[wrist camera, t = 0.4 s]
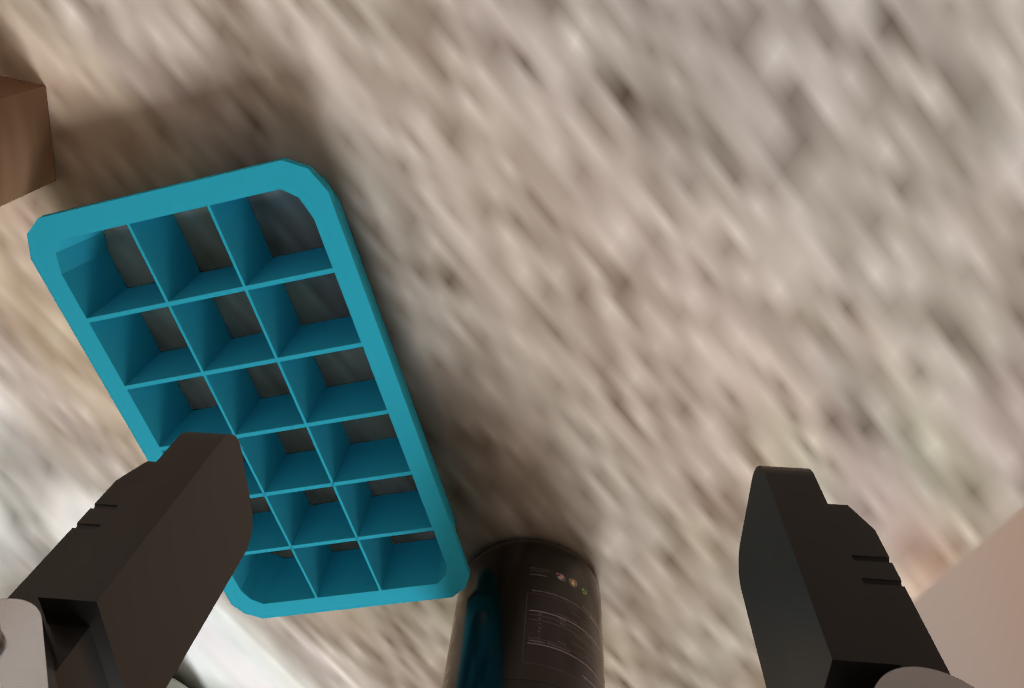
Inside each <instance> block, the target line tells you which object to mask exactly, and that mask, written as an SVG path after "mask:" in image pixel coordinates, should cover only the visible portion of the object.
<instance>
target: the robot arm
mask: <svg viewBox="0 0 1024 688" xmlns="http://www.w3.org/2000/svg"><path fill="white" fill-rule="evenodd" d="M252 526H253V513H252V506H251V501H250V495H249V490H248V484H247V478H246V473H245V467H244V462H243V456H242V451H241V446H240V443H239V440H238V439H237V437H236V436H235V435H233V434H220V433H203V432H184V433H182V434H180V435H179V436H178V437H177V439H176V440H175V441H174V442H173V443H172V444H171V445H170V447H169V448H168V449H167V450H166V451H165V452H164V453H163V455H162V456H161V457H160V458H159V459H158V460H157V461H156V462H153V461H147V462H145V463H144V464H142V465H141V466H139V467H137V468H136V469H134V470H132V471H131V472H129V473H128V474H126V475H124V476H123V477H121V478H119V479H118V480H116V481H115V482H114V483H113V485H112V486H111V487H110V488H109V489H108V490H107V491H106V492H105V493H104V494H103V495H102V496H101V498H100V499H99V500H98V501H97V502H96V503H95V507H94V509H92V508H90V509H89V511H88V512H87V513H86V514H85V515H84V516H83V517H82V518H81V519H80V520H79V521H78V523H77V527H76V528H72V529H71V530H70V531H69V532H68V533H67V534H66V536H65V537H64V538H63V539H62V540H61V541H60V542H59V543H58V544H57V545H56V546H55V547H54V549H53V550H52V551H51V552H50V553H49V554H48V555H47V556H46V557H45V558H44V559H43V560H42V562H41V563H40V564H39V565H38V566H37V567H36V568H35V569H34V570H33V571H32V572H31V574H30V575H29V576H28V577H27V578H26V579H25V580H24V581H23V582H22V583H21V584H20V585H19V587H18V588H17V589H16V590H15V591H14V592H13V593H12V594H11V595H10V596H9V597H8V598H6V599H0V688H166V687H167V686H168V684H169V682H170V681H171V679H172V677H173V676H174V674H175V672H176V670H177V669H178V667H179V665H180V664H181V662H182V660H183V658H184V657H185V655H186V653H187V652H188V650H189V648H190V646H191V645H192V643H193V641H194V640H195V638H196V636H197V634H198V633H199V631H200V629H201V628H202V626H203V624H204V622H205V621H206V619H207V617H208V616H209V614H210V612H211V610H212V609H213V607H214V605H215V604H216V602H217V600H218V598H219V597H220V595H221V593H222V592H223V590H224V588H225V587H226V585H227V583H228V581H229V580H230V578H231V576H232V575H233V573H234V571H235V569H236V568H237V566H238V564H239V563H240V561H241V559H242V557H243V556H244V554H245V552H246V550H247V548H248V545H249V542H250V538H251V533H252ZM739 578H740V585H741V590H742V594H743V598H744V602H745V606H746V610H747V614H748V617H749V621H750V625H751V629H752V633H753V637H754V641H755V645H756V649H757V653H758V657H759V660H760V664H761V668H762V672H763V676H764V680H765V684H766V688H974V687H973V686H971V685H969V684H968V683H966V682H964V681H962V680H960V679H958V678H956V677H954V676H951V675H950V673H949V671H948V669H947V667H946V665H945V663H944V661H943V659H942V658H941V656H940V654H939V652H938V650H937V648H936V646H935V644H934V642H933V640H932V638H931V636H930V634H929V633H928V631H927V629H926V627H925V625H924V623H923V621H922V619H921V617H920V615H919V613H918V612H917V610H916V608H915V606H914V604H913V602H912V600H911V598H910V596H909V594H908V592H907V590H906V589H905V587H903V586H901V579H900V577H899V575H898V573H897V571H896V569H895V568H894V566H893V564H892V563H889V556H888V554H887V552H886V550H885V548H884V546H883V545H882V543H881V541H880V539H879V537H878V535H877V533H876V531H875V530H874V529H873V528H872V527H871V526H870V525H869V524H868V523H867V522H866V521H865V520H863V519H862V518H861V517H860V516H859V515H858V514H857V513H856V512H855V511H853V510H852V509H851V508H850V507H849V506H848V505H836V504H827V502H826V499H825V497H824V495H823V493H822V491H821V489H820V486H819V484H818V482H817V480H816V478H815V476H814V474H813V472H812V471H811V470H810V469H804V468H787V467H770V466H758V467H757V468H756V469H755V471H754V474H753V478H752V483H751V488H750V493H749V499H748V504H747V509H746V515H745V520H744V525H743V531H742V536H741V542H740V548H739Z"/></svg>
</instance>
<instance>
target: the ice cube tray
mask: <svg viewBox="0 0 1024 688" xmlns="http://www.w3.org/2000/svg"><path fill="white" fill-rule="evenodd" d="M279 189H281V190H283V191H285V192H288V193H290V194H292V195H294V196H296V197H298V198H299V199H300V200H301V201H302V203H303V204H304V206H305V207H306V208H307V210H308V211H309V213H310V214H311V216H312V217H313V218H314V221H315V223H316V226H317V228H318V231H319V234H320V236H321V239H322V241H323V244H324V247H320V248H316V249H311V250H306V251H301V252H297V253H292V254H287V255H282V256H278V257H272V255H271V253H270V250H269V248H268V245H267V243H266V241H265V238H264V236H263V234H262V231H261V229H260V226H259V224H258V222H257V219H256V217H255V215H254V212H253V210H252V207H251V205H250V203H249V200H248V198H247V197H249V196H253V195H257V194H262V193H266V192H270V191H275V190H279ZM205 206H207V208H208V210H209V212H210V214H211V217H212V219H213V221H214V223H215V225H216V228H217V230H218V232H219V234H220V237H221V239H222V241H223V243H224V246H225V248H226V250H227V252H228V254H229V257H230V259H231V261H232V263H233V266H230V267H226V268H221V269H216V270H211V271H207V272H202V273H201V272H200V269H199V267H198V265H197V263H196V261H195V259H194V257H193V255H192V252H191V250H190V248H189V246H188V244H187V242H186V240H185V238H184V236H183V233H182V231H181V229H180V227H179V225H178V223H177V221H176V219H175V216H174V214H175V213H179V212H183V211H188V210H192V209H196V208H201V207H205ZM122 225H127V226H128V228H129V230H130V232H131V234H132V236H133V238H134V240H135V242H136V244H137V246H138V248H139V250H140V252H141V254H142V256H143V258H144V260H145V262H146V264H147V266H148V268H149V270H150V272H151V274H152V276H153V278H154V280H155V283H150V284H145V285H140V286H136V287H131V288H127V286H126V284H125V282H124V280H123V279H122V277H121V275H120V273H119V271H118V269H117V267H116V265H115V263H114V261H113V260H112V258H111V256H110V254H109V252H108V248H107V244H106V240H105V236H104V230H105V229H109V228H114V227H118V226H122ZM27 238H28V244H29V250H30V256H31V260H32V262H33V263H34V265H35V267H36V269H37V270H38V272H39V274H40V276H41V277H42V279H43V281H44V282H45V284H46V286H47V288H48V289H49V291H50V293H51V294H52V296H53V298H54V300H55V301H56V303H57V305H58V306H59V308H60V310H61V312H62V313H63V315H64V317H65V319H66V320H67V322H68V324H69V325H70V327H71V329H72V331H73V332H74V334H75V336H76V337H77V339H78V341H79V343H80V344H81V346H82V348H83V350H84V351H85V353H86V355H87V356H88V358H89V360H90V362H91V363H92V365H93V367H94V368H95V370H96V372H97V374H98V375H99V377H100V379H101V380H102V382H103V384H104V386H105V387H106V389H107V391H108V393H109V394H110V396H111V398H112V399H113V401H114V403H115V405H116V406H117V408H118V410H119V411H120V413H121V415H122V417H123V418H124V420H125V422H126V424H127V425H128V427H129V429H130V430H131V432H132V434H133V436H134V437H135V439H136V441H137V442H138V444H139V446H140V448H141V449H142V451H143V453H144V454H145V456H146V458H147V460H148V461H153V462H156V461H157V460H158V459H159V458H160V457H161V456H162V455H163V453H164V452H165V451H166V450H167V449H168V448H169V447H170V445H171V444H172V443H173V442H174V441H175V440H176V439H177V437H178V436H179V435H180V434H182V433H184V432H203V433H220V434H233V435H235V436H236V437H237V439H238V440H239V443H240V446H241V451H242V454H243V456H244V458H245V460H246V461H243V462H244V467H245V473H246V478H247V484H248V490H249V495H250V498H256V497H263V496H264V497H265V499H266V501H267V503H268V505H269V507H270V509H271V511H266V512H259V513H253V526H252V533H251V538H250V542H249V545H248V548H247V550H246V552H245V554H244V556H243V557H242V559H241V561H240V563H239V564H238V566H237V568H236V569H235V571H234V573H233V575H232V576H231V578H230V580H229V581H228V583H227V585H226V587H225V588H224V592H225V594H226V596H227V597H228V599H229V601H230V602H231V604H232V605H233V606H235V607H236V608H238V609H239V610H241V611H242V612H243V613H245V614H249V615H252V616H256V617H260V618H271V617H280V616H289V615H298V614H306V613H315V612H324V611H333V610H342V609H351V608H360V607H369V606H378V605H386V604H395V603H404V602H413V601H422V600H431V599H440V598H449V597H453V596H454V595H456V594H457V593H459V592H460V591H462V590H463V589H465V588H466V585H467V582H468V579H469V576H470V568H469V566H468V563H467V560H466V557H465V555H464V552H463V549H462V546H461V544H460V541H459V538H458V535H457V533H456V530H455V518H454V515H453V512H452V510H451V507H450V504H449V501H448V499H447V496H446V493H445V490H444V488H443V485H442V482H441V479H440V476H439V474H438V471H437V468H436V465H435V463H434V460H433V457H432V454H431V452H430V449H429V446H428V443H427V441H426V438H425V435H424V432H423V430H422V427H421V424H420V421H419V419H418V416H417V413H416V410H415V407H414V405H413V402H412V399H411V396H410V394H409V391H408V388H407V385H406V383H405V380H404V377H403V374H402V372H401V369H400V366H399V363H398V361H397V358H396V355H395V352H394V350H393V347H392V344H391V341H390V338H389V336H388V333H387V330H386V327H385V325H384V322H383V319H382V316H381V314H380V311H379V308H378V305H377V303H376V300H375V297H374V294H373V292H372V289H371V286H370V283H369V281H368V278H367V275H366V272H365V269H364V267H363V264H362V261H361V258H360V256H359V253H358V250H357V247H356V245H355V242H354V239H353V236H352V234H351V231H350V228H349V225H348V223H347V220H346V217H345V214H344V212H343V209H342V206H341V203H340V201H339V198H338V197H337V195H336V194H335V192H334V191H333V189H332V188H331V186H330V185H329V184H328V182H327V181H326V179H325V178H324V177H323V176H321V175H319V174H317V172H316V171H315V170H314V169H313V168H312V167H311V166H309V165H306V164H303V163H300V162H297V161H294V160H290V159H287V158H282V159H278V160H273V161H269V162H265V163H261V164H257V165H252V166H248V167H244V168H240V169H236V170H231V171H227V172H223V173H219V174H215V175H210V176H206V177H202V178H198V179H194V180H190V181H185V182H181V183H177V184H173V185H169V186H164V187H160V188H156V189H152V190H148V191H143V192H139V193H135V194H131V195H127V196H122V197H118V198H114V199H110V200H106V201H101V202H97V203H93V204H89V205H85V206H80V207H76V208H72V209H68V210H64V211H59V212H55V213H51V214H47V215H43V216H42V217H40V218H38V219H37V221H36V222H35V224H34V225H33V226H32V228H31V229H30V231H29V232H28V233H27ZM331 273H335V275H336V278H337V281H338V283H339V286H340V288H341V291H342V294H343V296H344V299H345V301H346V304H347V307H348V309H349V312H350V314H351V316H347V317H342V318H337V319H331V320H326V321H321V322H316V323H311V324H305V325H301V324H300V322H299V319H298V317H297V314H296V312H295V310H294V307H293V305H292V303H291V300H290V298H289V295H288V293H287V291H286V288H285V286H284V284H283V283H286V282H291V281H296V280H301V279H306V278H311V277H316V276H321V275H326V274H331ZM242 291H245V292H246V295H247V297H248V299H249V301H250V303H251V306H252V308H253V310H254V312H255V315H256V317H257V319H258V321H259V324H260V326H261V328H262V330H263V333H258V334H253V335H248V336H242V337H237V338H232V337H231V335H230V333H229V331H228V329H227V327H226V324H225V322H224V320H223V318H222V316H221V314H220V312H219V310H218V308H217V305H216V303H215V301H214V299H213V297H218V296H223V295H228V294H233V293H237V292H242ZM164 307H169V309H170V311H171V313H172V315H173V317H174V319H175V321H176V323H177V325H178V327H179V329H180V331H181V333H182V335H183V337H184V339H185V341H186V343H187V345H188V347H185V348H180V349H174V350H169V351H164V352H161V351H160V349H159V347H158V345H157V343H156V341H155V339H154V337H153V336H152V334H151V332H150V330H149V328H148V326H147V324H146V322H145V320H144V318H143V317H142V315H141V313H140V312H144V311H149V310H154V309H159V308H164ZM359 347H363V348H364V351H365V354H366V356H367V359H368V361H369V364H370V367H371V369H372V372H373V374H374V377H375V379H372V380H366V381H360V382H354V383H349V384H343V385H337V386H331V387H327V386H326V383H325V381H324V379H323V376H322V374H321V372H320V369H319V367H318V364H317V362H316V360H315V357H314V356H315V355H320V354H326V353H331V352H337V351H342V350H348V349H353V348H359ZM276 362H277V364H278V366H279V368H280V370H281V373H282V375H283V377H284V379H285V381H286V384H287V386H288V388H289V390H290V393H291V394H285V395H279V396H273V397H268V398H262V399H260V396H259V394H258V392H257V390H256V388H255V386H254V384H253V382H252V380H251V377H250V375H249V373H248V371H247V369H246V368H249V367H254V366H260V365H265V364H271V363H276ZM200 376H203V377H204V379H205V380H206V382H207V384H208V386H209V388H210V390H211V392H212V394H213V396H214V398H215V400H216V402H217V404H218V406H215V407H210V408H204V409H198V410H191V408H190V406H189V404H188V402H187V400H186V398H185V396H184V394H183V392H182V391H181V389H180V387H179V385H178V383H177V381H178V380H183V379H189V378H194V377H200ZM384 414H389V416H390V419H391V421H392V424H393V427H394V429H395V432H396V434H397V437H393V438H387V439H380V440H374V441H367V442H361V443H355V444H351V443H350V441H349V438H348V436H347V433H346V431H345V429H344V426H343V424H342V422H341V421H347V420H353V419H359V418H365V417H372V416H378V415H384ZM304 427H306V428H307V430H308V433H309V435H310V437H311V439H312V442H313V444H314V446H315V448H316V450H310V451H303V452H297V453H291V454H286V452H285V449H284V447H283V445H282V443H281V441H280V439H279V437H278V435H277V432H280V431H286V430H292V429H298V428H304ZM407 475H412V476H413V479H414V481H415V484H416V487H417V489H418V490H415V491H408V492H401V493H394V494H387V495H379V496H373V495H372V493H371V491H370V488H369V486H368V483H367V481H372V480H379V479H386V478H393V477H400V476H407ZM331 486H333V488H334V491H335V493H336V495H337V497H338V500H339V501H337V502H330V503H323V504H316V505H311V504H310V502H309V500H308V498H307V496H306V494H305V492H304V490H311V489H318V488H325V487H331ZM425 531H434V534H435V536H436V539H430V540H422V541H414V542H406V543H399V544H393V543H392V541H391V538H390V536H395V535H402V534H410V533H418V532H425ZM356 540H357V542H358V544H359V546H360V548H359V549H351V550H344V551H336V552H333V551H332V549H331V547H330V545H329V544H333V543H341V542H349V541H356ZM288 549H291V550H292V552H293V554H294V556H295V557H289V558H282V557H280V556H277V555H274V554H272V553H271V552H272V551H280V550H288Z"/></svg>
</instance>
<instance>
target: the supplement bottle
mask: <svg viewBox="0 0 1024 688" xmlns="http://www.w3.org/2000/svg"><path fill="white" fill-rule="evenodd" d="M469 568H470V576H469V579H468V582H467V585H466V588H465V589H463V590H462V591H460V592H459V594H458V599H457V605H456V610H455V616H454V622H453V628H452V634H451V639H450V645H449V651H448V657H447V663H446V668H445V674H444V680H443V686H442V688H605V679H604V657H603V635H602V612H601V597H600V590H599V586H598V582H597V580H596V578H595V576H594V574H593V572H592V571H591V569H590V568H589V567H588V566H587V564H586V563H585V562H584V561H583V560H582V559H580V558H579V557H578V556H577V555H575V554H574V553H572V552H571V551H569V550H567V549H565V548H563V547H561V546H558V545H556V544H552V543H549V542H544V541H539V540H514V541H509V542H505V543H501V544H498V545H496V546H493V547H491V548H489V549H487V550H486V551H484V552H483V553H481V554H480V555H479V556H477V557H476V558H475V559H474V560H473V561H472V562H471V564H470V565H469Z"/></svg>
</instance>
